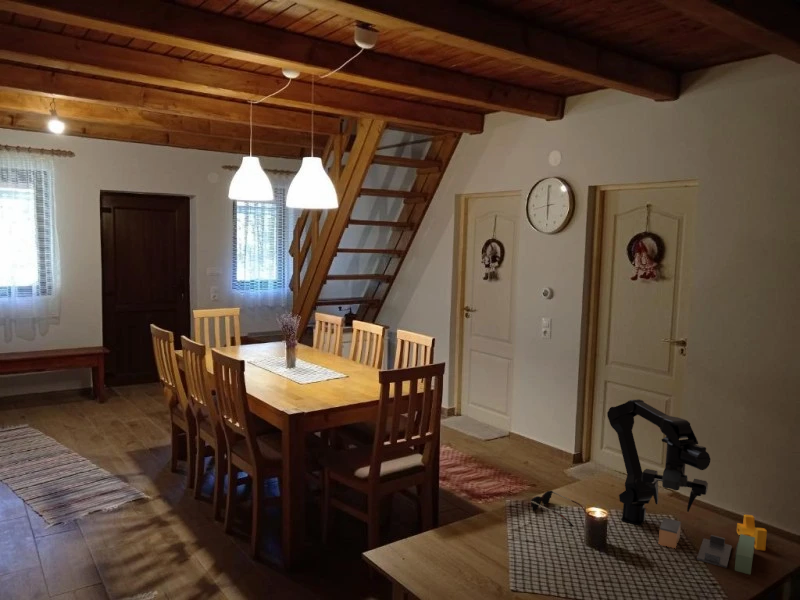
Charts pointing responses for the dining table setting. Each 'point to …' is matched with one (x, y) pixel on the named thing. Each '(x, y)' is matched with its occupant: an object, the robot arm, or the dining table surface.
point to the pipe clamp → (753, 532)
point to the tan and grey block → (669, 533)
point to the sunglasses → (545, 499)
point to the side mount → (715, 551)
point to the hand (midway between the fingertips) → (672, 507)
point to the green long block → (744, 554)
